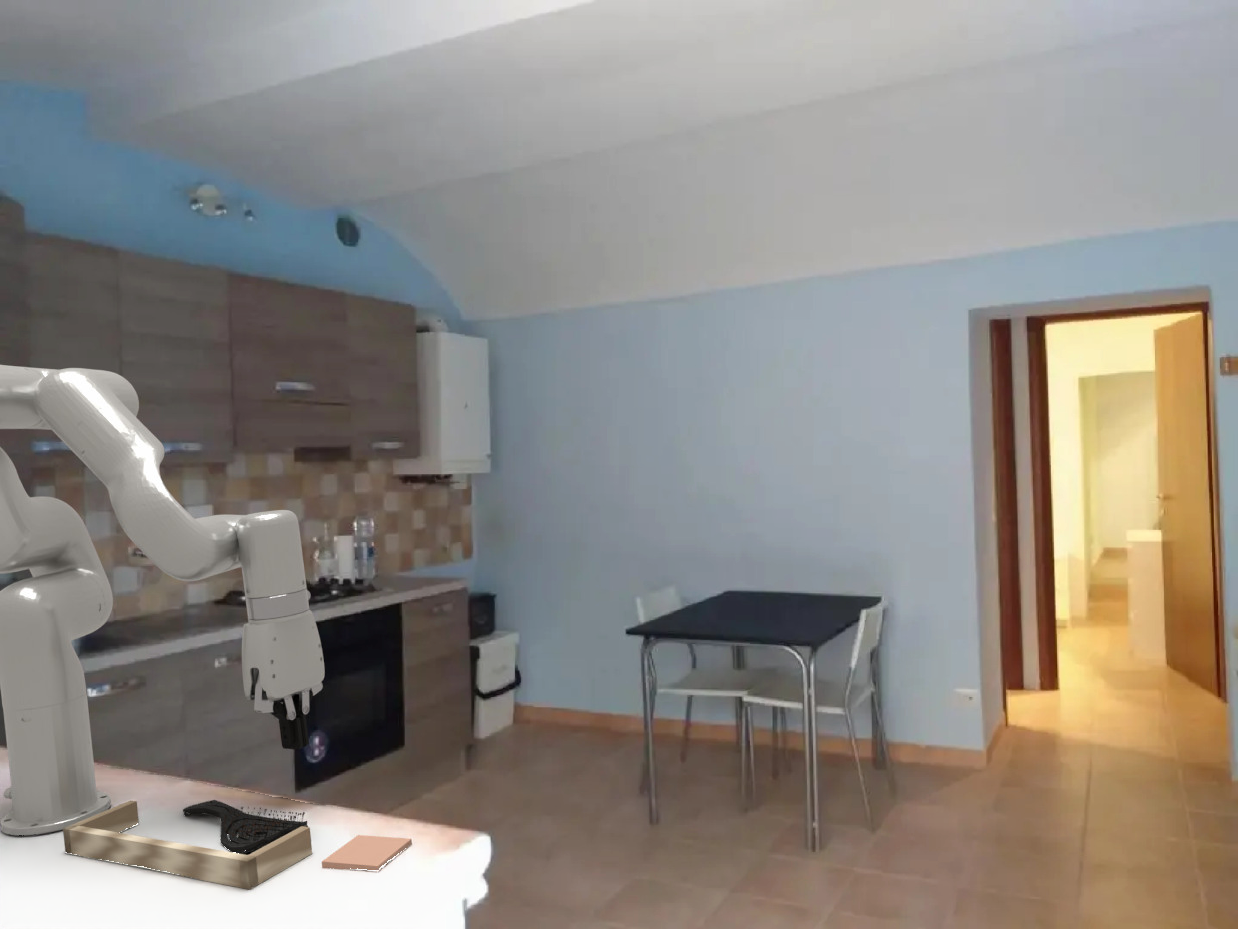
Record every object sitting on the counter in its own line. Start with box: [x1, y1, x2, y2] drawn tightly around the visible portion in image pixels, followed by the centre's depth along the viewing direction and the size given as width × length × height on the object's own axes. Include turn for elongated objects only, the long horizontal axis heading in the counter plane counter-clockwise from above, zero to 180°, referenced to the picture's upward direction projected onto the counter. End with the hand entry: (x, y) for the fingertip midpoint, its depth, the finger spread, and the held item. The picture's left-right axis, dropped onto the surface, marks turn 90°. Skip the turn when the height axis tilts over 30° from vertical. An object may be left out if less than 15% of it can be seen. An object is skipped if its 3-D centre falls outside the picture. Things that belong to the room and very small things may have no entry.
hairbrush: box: [182, 799, 309, 855], centre depth 121 cm, size 8×4×25 cm
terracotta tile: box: [321, 834, 413, 870], centre depth 110 cm, size 7×7×1 cm
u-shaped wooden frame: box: [62, 800, 313, 890], centre depth 114 cm, size 30×9×3 cm, turn 63°
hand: (295, 746), depth 128 cm, fingers closed
